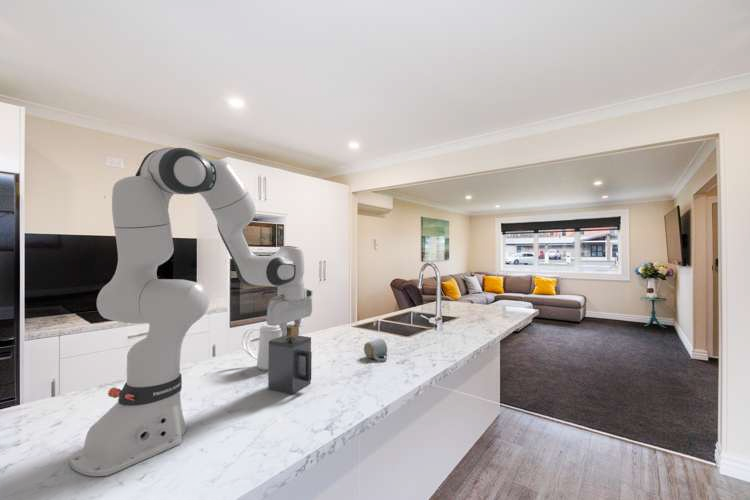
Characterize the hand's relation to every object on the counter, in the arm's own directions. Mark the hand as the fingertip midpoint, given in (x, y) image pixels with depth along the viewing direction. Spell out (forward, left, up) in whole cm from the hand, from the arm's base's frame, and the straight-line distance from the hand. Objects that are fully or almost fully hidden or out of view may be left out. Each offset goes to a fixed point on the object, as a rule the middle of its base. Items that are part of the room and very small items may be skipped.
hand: (290, 333), depth 114 cm
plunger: (0, 0, -16) cm, 16 cm away
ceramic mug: (+41, -15, -18) cm, 47 cm away
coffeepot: (+13, +19, -18) cm, 29 cm away
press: (0, -2, -18) cm, 18 cm away
